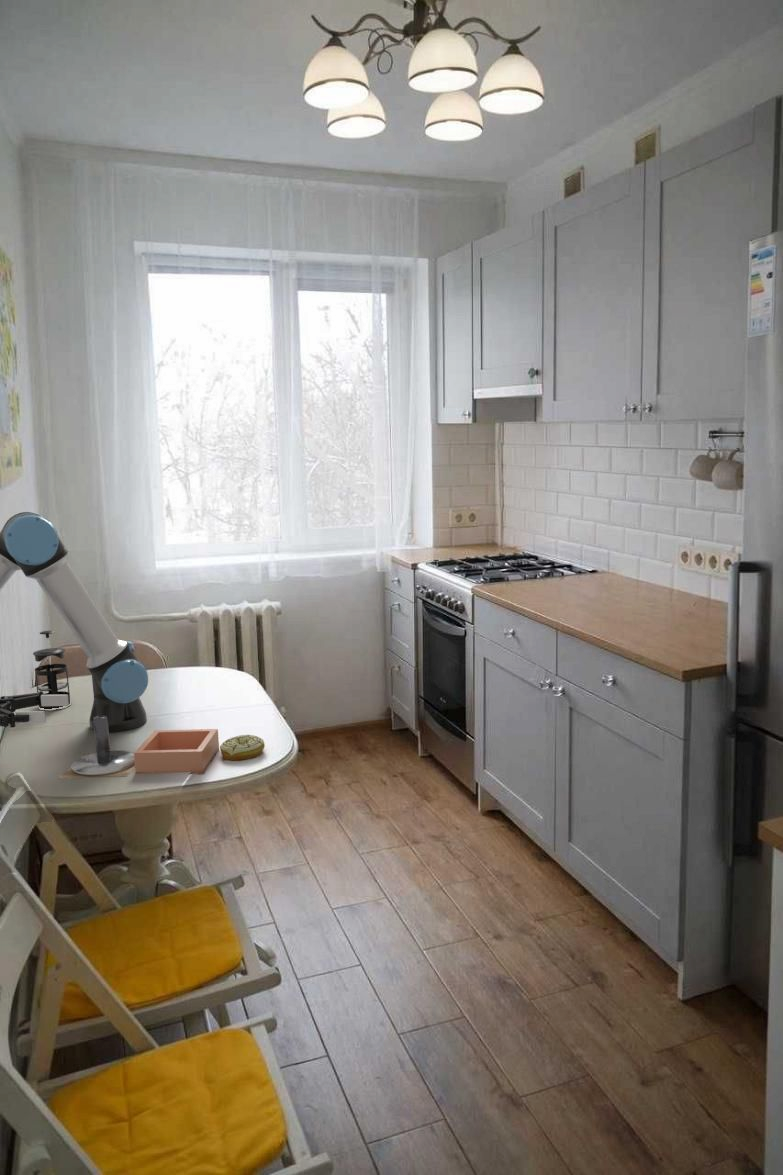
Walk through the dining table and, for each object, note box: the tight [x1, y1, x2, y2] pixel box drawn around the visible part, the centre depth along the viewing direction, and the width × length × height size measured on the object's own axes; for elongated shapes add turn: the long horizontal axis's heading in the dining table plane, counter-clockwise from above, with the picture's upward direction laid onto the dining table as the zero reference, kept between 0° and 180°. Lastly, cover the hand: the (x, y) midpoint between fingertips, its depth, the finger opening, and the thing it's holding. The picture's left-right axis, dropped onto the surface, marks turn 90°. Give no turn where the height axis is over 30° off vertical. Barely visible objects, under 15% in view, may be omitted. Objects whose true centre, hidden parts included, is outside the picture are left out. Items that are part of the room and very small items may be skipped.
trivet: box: [58, 751, 135, 779], centre depth 214 cm, size 16×16×1 cm
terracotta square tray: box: [133, 728, 220, 775], centre depth 215 cm, size 16×16×6 cm
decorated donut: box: [219, 734, 266, 761], centre depth 219 cm, size 10×11×4 cm
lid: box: [70, 715, 135, 776], centre depth 213 cm, size 15×15×12 cm
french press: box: [32, 630, 71, 709], centre depth 265 cm, size 12×9×23 cm
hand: (56, 708), depth 212 cm, fingers open, 13 cm apart
